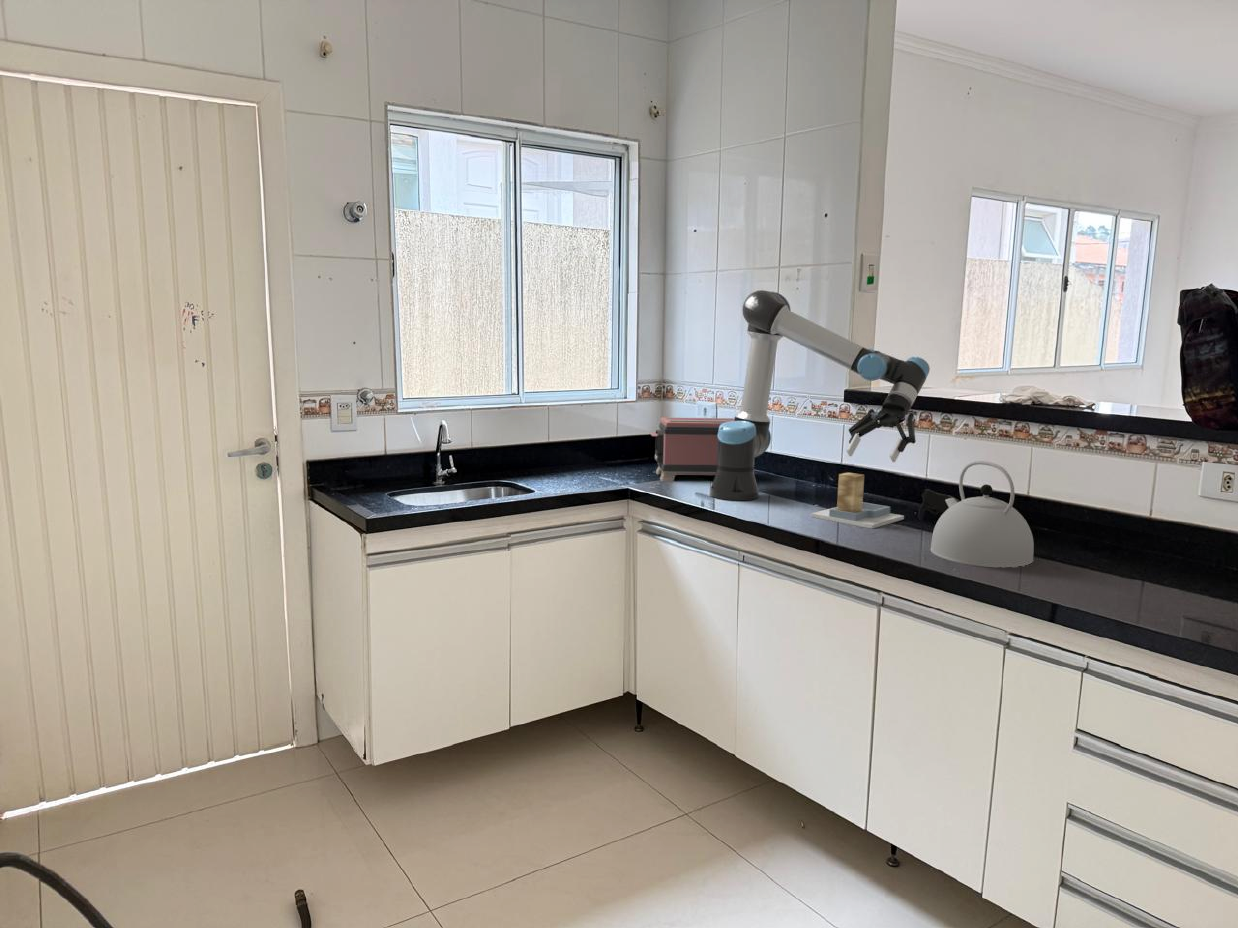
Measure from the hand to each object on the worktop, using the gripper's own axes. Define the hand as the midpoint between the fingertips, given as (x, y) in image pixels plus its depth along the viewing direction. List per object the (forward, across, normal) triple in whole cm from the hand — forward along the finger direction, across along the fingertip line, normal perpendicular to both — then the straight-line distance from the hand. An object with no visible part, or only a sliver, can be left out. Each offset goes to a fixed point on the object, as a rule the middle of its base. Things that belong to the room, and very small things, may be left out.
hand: (870, 456), depth 241 cm
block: (+19, 0, -4) cm, 19 cm away
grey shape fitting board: (+16, 0, -8) cm, 18 cm away
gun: (+6, -20, -19) cm, 28 cm away
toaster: (+5, +73, -21) cm, 76 cm away
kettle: (+25, -40, +1) cm, 47 cm away
